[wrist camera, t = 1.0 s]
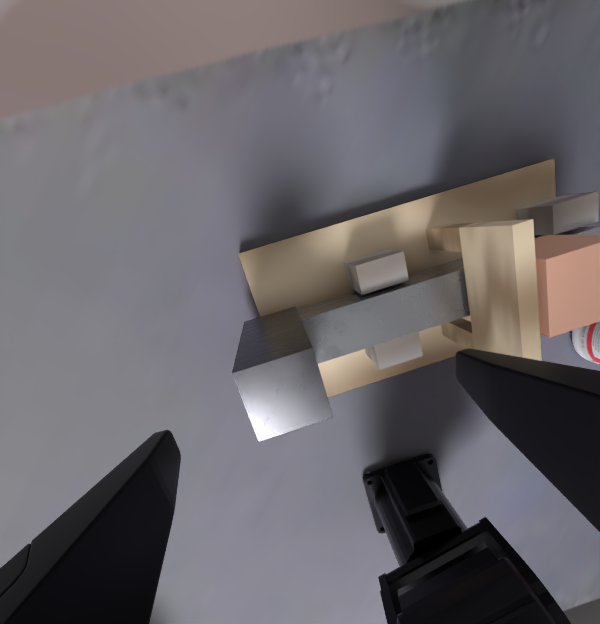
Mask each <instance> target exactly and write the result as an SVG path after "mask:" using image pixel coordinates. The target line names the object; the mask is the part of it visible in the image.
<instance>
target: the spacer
mask: <svg viewBox="0 0 600 624" xmlns="http://www.w3.org/2000/svg"><path fill="white" fill-rule="evenodd" d="M534 240H535V257H536V274H537V290H538V307H539V324H540V334H541V335H544V336H547V337H549V338H550V337H553V336H556V335H559V334H562V333H566V332H569V331H572V330H575V329H578V328H581V327H584V326H587V325H590V324H593V323H596V322H599V321H600V235H544V236H541V237H538V238H535V239H534Z"/></svg>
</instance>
